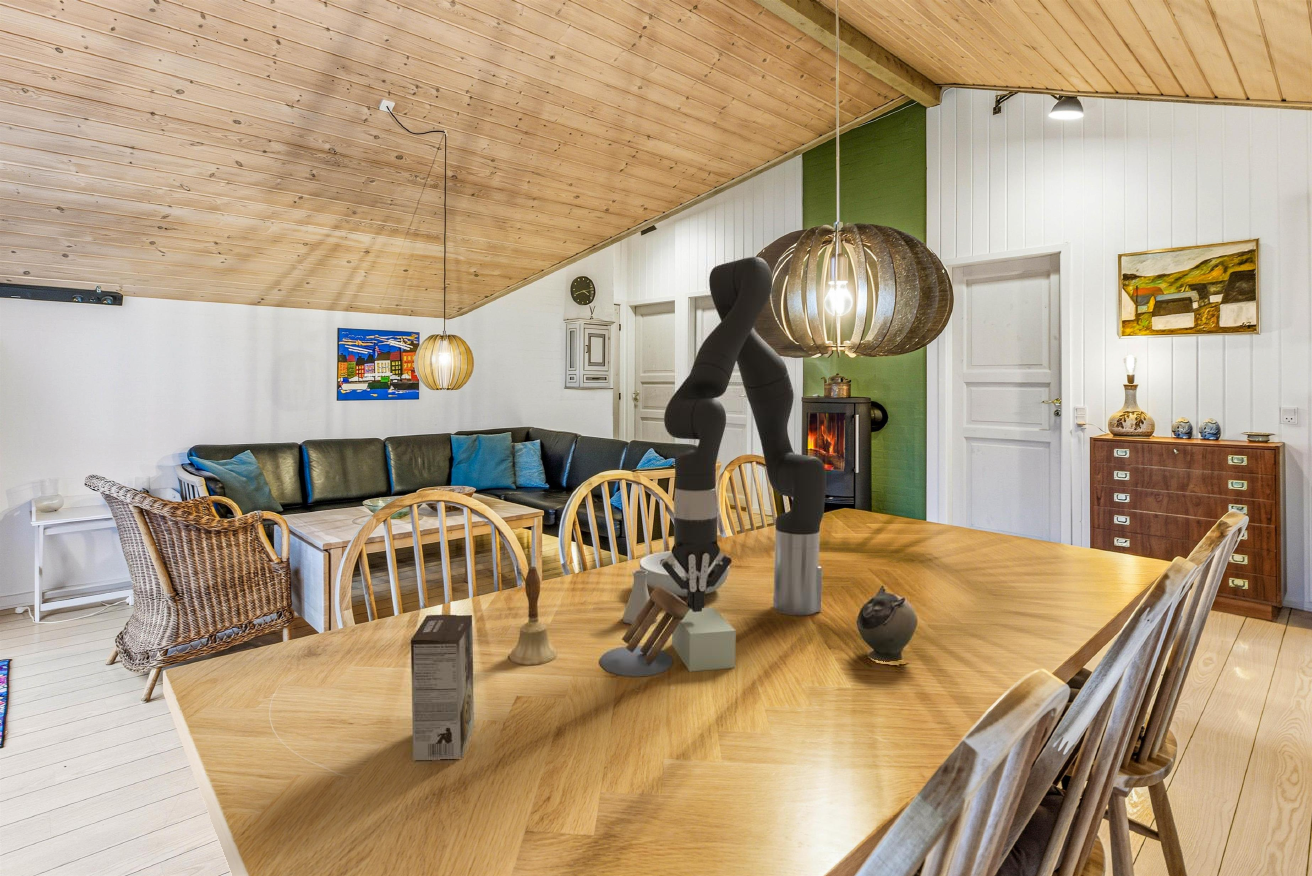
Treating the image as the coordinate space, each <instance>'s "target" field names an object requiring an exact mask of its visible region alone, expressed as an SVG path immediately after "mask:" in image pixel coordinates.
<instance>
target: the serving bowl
mask: <svg viewBox="0 0 1312 876" xmlns="http://www.w3.org/2000/svg"><path fill="white" fill-rule="evenodd" d="M671 554H672V553H671V551H662V552H661V551H660V552H655V553H651V554H648V555H645V556H643V557H641V558H640V561H639V570H645V571H647V572H648V575H647V577H646V583H647V586H650V587H651V588H652V589H653V590H654V589H655V587H656V586H657V585H661V586H663V587H664V588H666V589H668V590H669V591H671V592H672V593H674V594H675V595H676V596H678V597H680V598H681V597H687V589H681V588H680V587H679V586H678V584H677V583H676V582H675V581H674V580H673V579H672V577H671V576H670V575H669V574H668V573H667V571H666V570H665V569H664V568H663V567H662V565H661V564H660V561H661V560H662V559H666V558H667V557H668V556H670V555H671ZM715 560H716V559H715ZM715 560H714V562H713V563H712V565H711V566H710V568H709V569H708V574H709V572H710V571H711V569H712V568H713V567H714V565H715V564H716V562H715ZM675 564H676V567H675V568H674V570H675V571H676V572H677V573H678V575H679V576H680V577H681V578H682V579H683V580H686V576H685V572H684V569H683V568H682V567H681V566H680V564H679V563H678V562H677V560H676V559H675ZM730 565H731V564H730ZM730 565H729V566H728V568H727V569H726V571H725V572H724V573H723V575H722V576H721V578H720V579H719V580H718V582H717V583H716V584H715V586H713V587H708V588H707V589H706V590H705V595H707V594H710V593H712V592H715V591H717V590H718V589H719V588H721V587H722V586H723V584H724V583H725V582H726V580H727V578H728V576H729V572H730V569H731V568H730Z"/></svg>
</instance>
